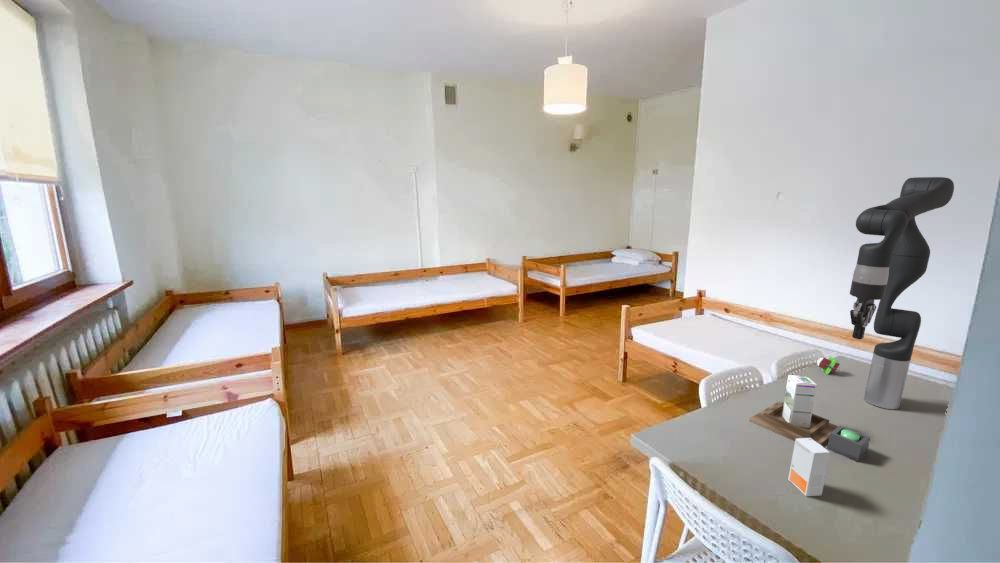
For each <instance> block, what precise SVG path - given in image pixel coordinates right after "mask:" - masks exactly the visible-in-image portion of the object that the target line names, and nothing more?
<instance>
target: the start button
mask: <svg viewBox="0 0 1000 563" xmlns="http://www.w3.org/2000/svg"><path fill="white" fill-rule="evenodd" d="M851 430H852V429H851ZM851 430H846V429H843V430H842V431H841V436H843V437H846V438H848V439H851V440H853V441H856V442H859V438H860V435H859V434H858V433H859V432H858V433H856V432H857V431H856V432H854V431H855V430H853V431H851Z"/></svg>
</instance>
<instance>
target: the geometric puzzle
mask: <svg viewBox="0 0 1000 563" xmlns="http://www.w3.org/2000/svg"><path fill="white" fill-rule="evenodd" d="M816 364H817V367H818V368H819V369H820V371H822V372H823V373H825V374H826V375H827V376H828V375H830V374H835V373H836V372H838V371H839V372H840V369H839V367H840V365H841V364H840V363H839V361H838V359H836V358H834V357H833V356H831V355H830V356H828V358H827V357H819V358H818V359H817V361H816Z"/></svg>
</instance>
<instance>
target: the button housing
mask: <svg viewBox="0 0 1000 563" xmlns="http://www.w3.org/2000/svg"><path fill="white" fill-rule="evenodd" d="M838 426H839V427H837V428H836V429H835V430H833V431H832V432H831V433H830V436H829V440H828V441H827V442H828V443H827V447H826V450H828V451H831V452H833V453H835V454H838V455H841V456H843V457H844V458H848V459H849V460H852V461H854V462H856V463H858V462H859V461H861V460H862V458H863V457H865V456H866V455H867V454H868V450H869V446H870V443H871V442H870V441H871V438H872V437H871V436H870V435H869V436H868V435H867V434H863V433H861V432H859V431H856V430H853V429H850V428H848V427H845V426H844V425H838ZM843 429H846V430H851V431H854V432H856V433H858V434H859V435H860V438H859V442H856V441H853V440H851V439H848V438H846V437H843V436H841V431H842V430H843Z"/></svg>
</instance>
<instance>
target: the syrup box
mask: <svg viewBox="0 0 1000 563" xmlns="http://www.w3.org/2000/svg"><path fill="white" fill-rule="evenodd" d="M817 385H818V384H817V383H816V382H815V381H814V380H812V379H811V378H810V377H808V376H805V375H797V374H796V375H793V374H791V375H790V374H789V375H788V376H787V381H786V387H785V388H786V389H785V393H784V398H783V400H784V401H783V403H784V406H783V412H782V417H783V418H784V420H785V421H786V422H788V423H791V424H793V425H796V426H798V427H804V428H809V427H810V422H811V416H812V414H813V408H814V403H815V396H816V391H817Z"/></svg>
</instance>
